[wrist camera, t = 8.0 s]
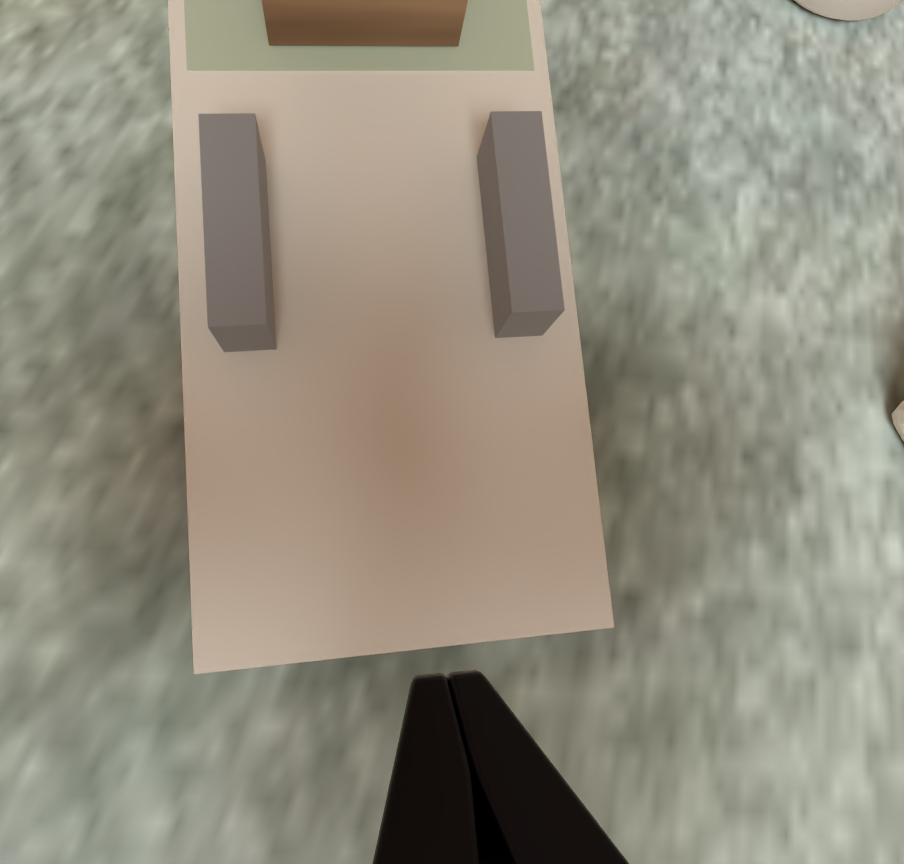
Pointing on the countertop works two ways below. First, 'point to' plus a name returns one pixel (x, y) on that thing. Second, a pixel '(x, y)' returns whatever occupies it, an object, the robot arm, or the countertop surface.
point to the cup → (848, 8)
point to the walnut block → (364, 22)
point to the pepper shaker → (899, 419)
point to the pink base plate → (377, 343)
